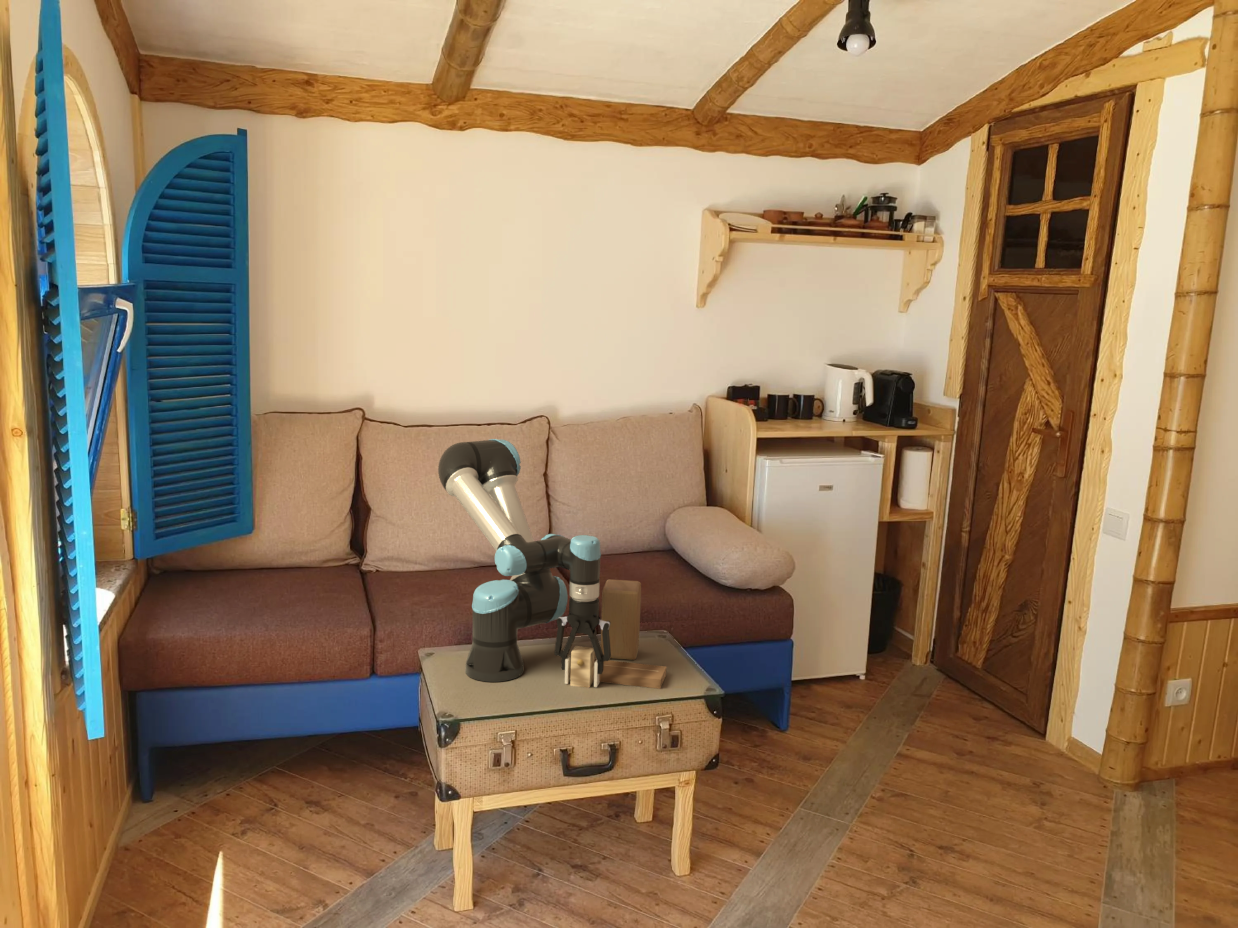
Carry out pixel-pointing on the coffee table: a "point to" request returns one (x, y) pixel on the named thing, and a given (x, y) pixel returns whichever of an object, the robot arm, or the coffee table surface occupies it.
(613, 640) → the wooden block
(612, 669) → the board
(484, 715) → the coffee table surface
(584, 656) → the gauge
